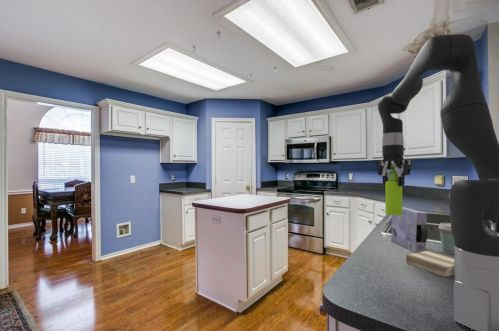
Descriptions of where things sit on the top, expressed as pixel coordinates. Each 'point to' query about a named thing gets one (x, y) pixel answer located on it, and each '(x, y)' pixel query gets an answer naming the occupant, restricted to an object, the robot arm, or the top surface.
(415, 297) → the top surface
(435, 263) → the birch stand
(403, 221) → the cake pan box
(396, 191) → the soap dispenser
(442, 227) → the coffee cup
